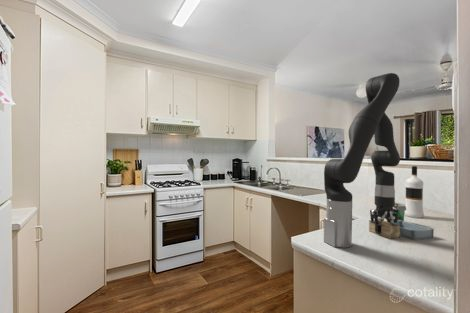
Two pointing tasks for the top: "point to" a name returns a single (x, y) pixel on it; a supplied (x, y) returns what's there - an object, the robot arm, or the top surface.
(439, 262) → the top surface
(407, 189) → the vodka
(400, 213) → the food container
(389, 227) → the small crate
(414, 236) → the crate
